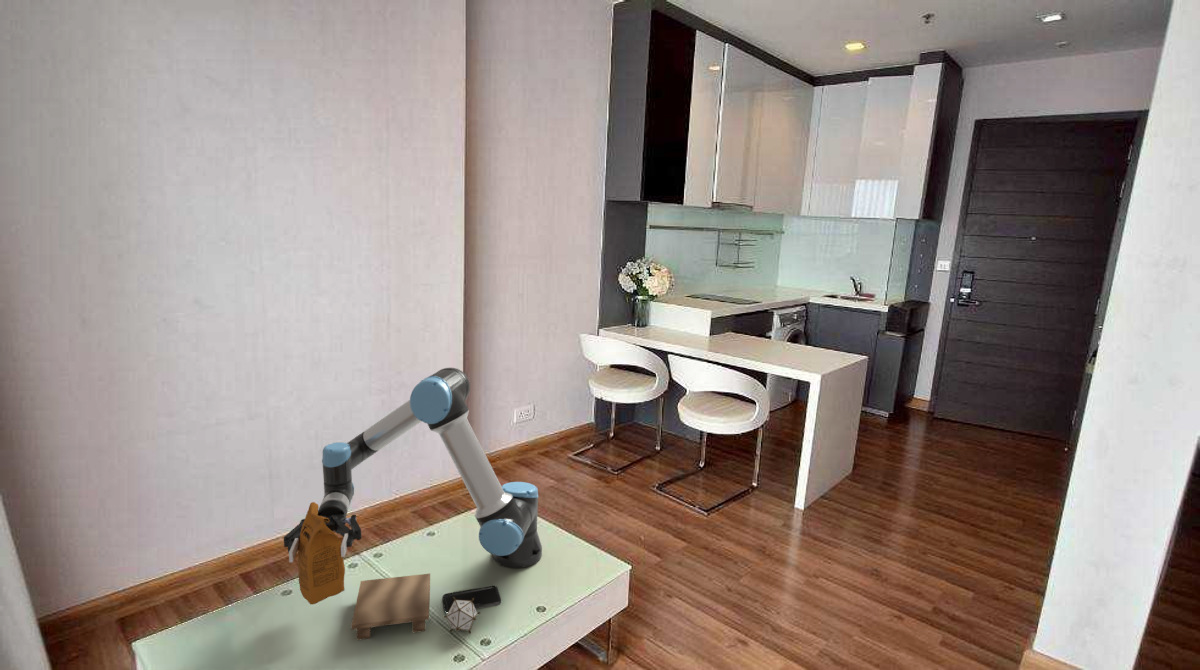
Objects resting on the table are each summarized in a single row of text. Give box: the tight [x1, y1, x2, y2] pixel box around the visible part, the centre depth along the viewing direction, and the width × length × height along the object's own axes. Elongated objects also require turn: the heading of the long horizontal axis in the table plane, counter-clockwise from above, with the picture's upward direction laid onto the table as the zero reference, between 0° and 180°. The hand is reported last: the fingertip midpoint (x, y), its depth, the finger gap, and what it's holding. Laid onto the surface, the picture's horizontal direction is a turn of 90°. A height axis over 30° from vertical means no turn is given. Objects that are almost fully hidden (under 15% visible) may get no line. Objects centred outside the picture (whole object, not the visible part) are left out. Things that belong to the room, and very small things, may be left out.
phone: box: [442, 585, 502, 612], centre depth 159 cm, size 8×1×15 cm
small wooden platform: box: [350, 573, 431, 641], centre depth 152 cm, size 18×18×5 cm
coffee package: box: [297, 501, 346, 605], centre depth 146 cm, size 10×12×22 cm
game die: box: [442, 597, 481, 634], centre depth 147 cm, size 9×8×10 cm
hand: (317, 554), depth 142 cm, fingers closed on coffee package, 11 cm apart
